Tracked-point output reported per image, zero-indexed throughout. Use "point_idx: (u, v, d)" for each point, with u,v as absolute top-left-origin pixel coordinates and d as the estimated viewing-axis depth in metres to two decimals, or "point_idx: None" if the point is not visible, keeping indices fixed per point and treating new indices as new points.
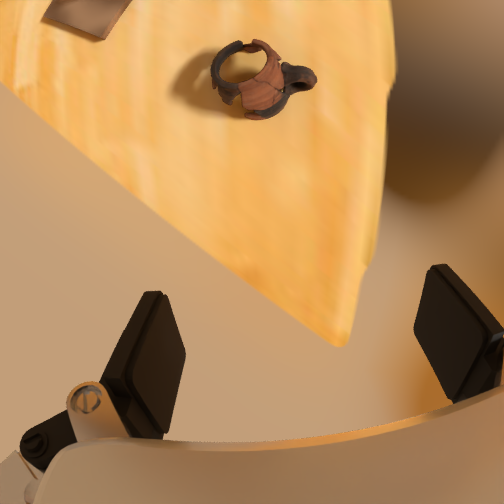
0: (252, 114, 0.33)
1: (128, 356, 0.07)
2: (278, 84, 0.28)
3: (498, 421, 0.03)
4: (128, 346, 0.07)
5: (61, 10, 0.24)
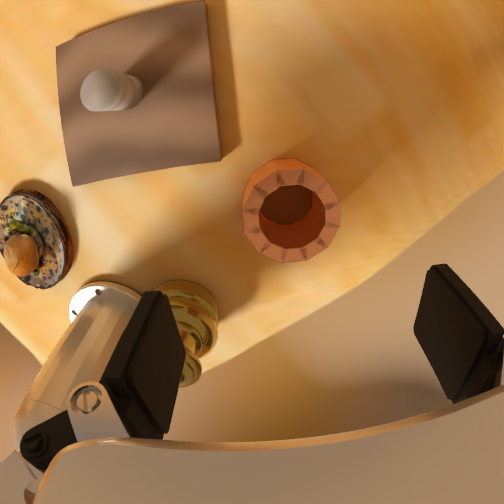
0: None
1: (128, 357, 0.07)
2: None
3: (498, 421, 0.03)
4: (128, 346, 0.07)
5: (163, 26, 0.17)
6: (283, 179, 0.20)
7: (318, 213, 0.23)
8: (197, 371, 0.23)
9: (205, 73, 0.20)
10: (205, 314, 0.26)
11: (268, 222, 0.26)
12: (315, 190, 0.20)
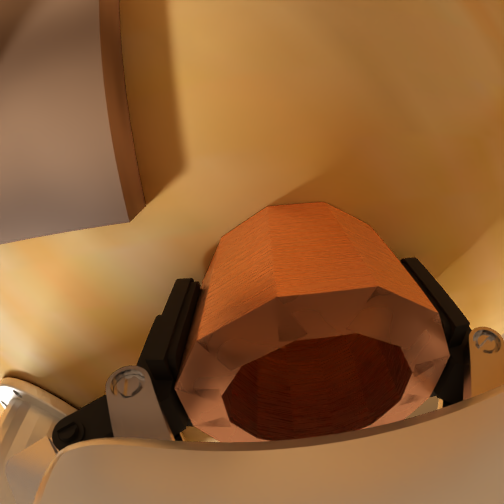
0: None
1: (170, 340, 0.07)
2: None
3: (498, 421, 0.03)
4: (168, 330, 0.08)
5: None
6: (302, 323, 0.05)
7: (377, 344, 0.09)
8: None
9: (87, 1, 0.05)
10: None
11: None
12: (399, 341, 0.06)
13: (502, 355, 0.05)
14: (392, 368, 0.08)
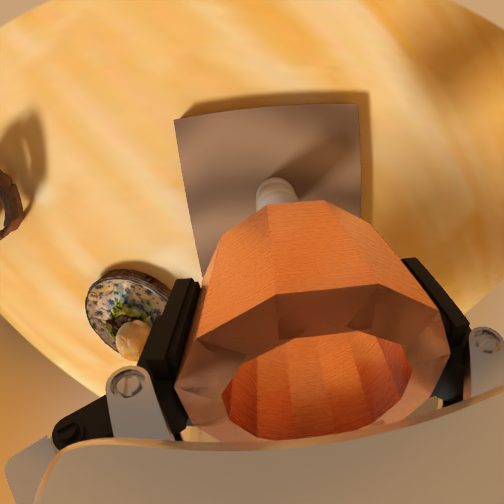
0: None
1: (169, 339, 0.07)
2: None
3: (498, 421, 0.03)
4: (168, 330, 0.08)
5: (316, 127, 0.21)
6: (302, 321, 0.05)
7: (378, 343, 0.09)
8: None
9: (356, 186, 0.23)
10: None
11: None
12: (399, 339, 0.06)
13: (502, 355, 0.05)
14: (392, 367, 0.08)
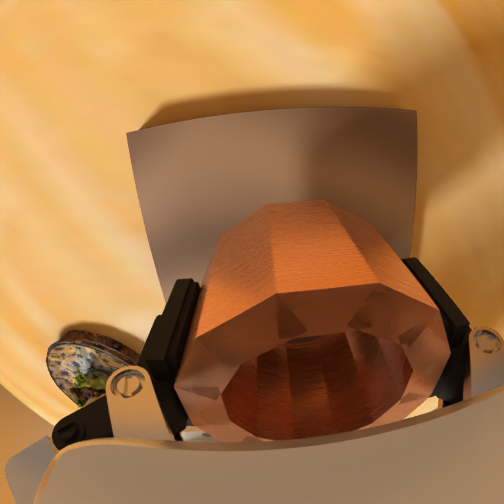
0: None
1: (169, 339, 0.07)
2: None
3: (498, 421, 0.03)
4: (168, 330, 0.08)
5: (355, 145, 0.13)
6: (302, 320, 0.05)
7: (378, 343, 0.09)
8: None
9: (405, 237, 0.15)
10: None
11: None
12: (399, 338, 0.06)
13: (502, 355, 0.05)
14: (393, 366, 0.08)
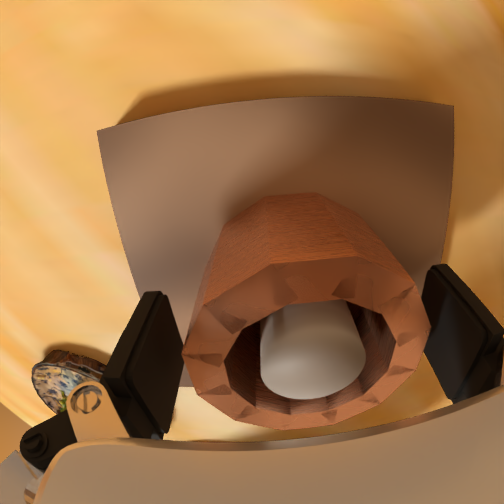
0: None
1: (128, 357, 0.07)
2: None
3: (498, 421, 0.03)
4: (128, 346, 0.07)
5: (382, 146, 0.10)
6: (293, 288, 0.06)
7: (366, 322, 0.10)
8: None
9: (434, 256, 0.12)
10: None
11: (259, 324, 0.13)
12: (380, 309, 0.07)
13: None
14: (379, 341, 0.09)
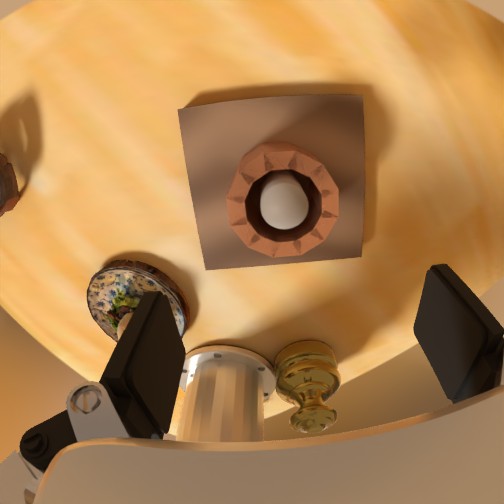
0: None
1: (128, 357, 0.07)
2: None
3: (498, 421, 0.03)
4: (128, 346, 0.07)
5: (320, 118, 0.20)
6: (272, 163, 0.17)
7: (315, 201, 0.21)
8: (334, 421, 0.26)
9: (360, 178, 0.22)
10: (336, 373, 0.29)
11: (260, 212, 0.23)
12: (309, 175, 0.17)
13: None
14: (318, 203, 0.19)
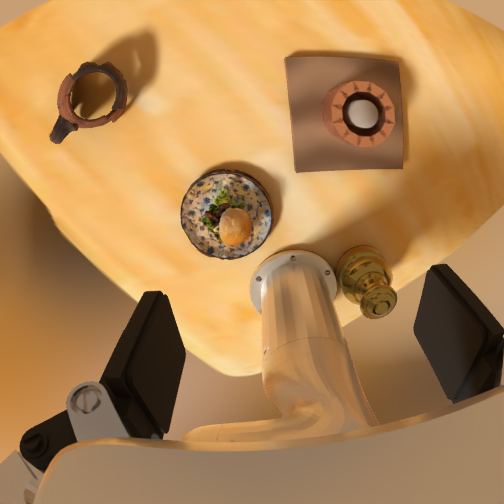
0: (72, 77, 0.27)
1: (128, 357, 0.07)
2: (60, 110, 0.26)
3: (498, 421, 0.03)
4: (128, 346, 0.07)
5: (374, 73, 0.28)
6: (358, 87, 0.25)
7: None
8: (394, 303, 0.33)
9: (399, 112, 0.30)
10: (390, 268, 0.37)
11: None
12: (378, 96, 0.25)
13: None
14: (381, 117, 0.27)
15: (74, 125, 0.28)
